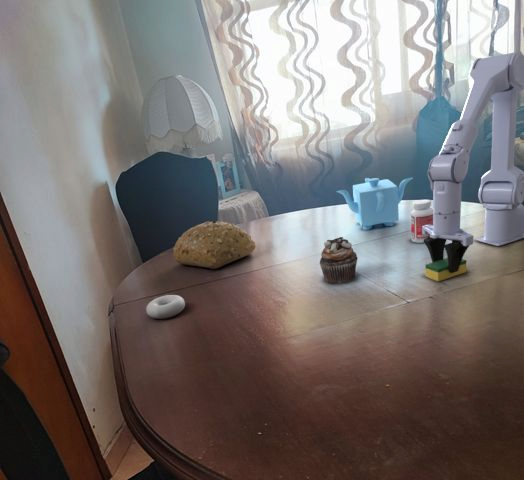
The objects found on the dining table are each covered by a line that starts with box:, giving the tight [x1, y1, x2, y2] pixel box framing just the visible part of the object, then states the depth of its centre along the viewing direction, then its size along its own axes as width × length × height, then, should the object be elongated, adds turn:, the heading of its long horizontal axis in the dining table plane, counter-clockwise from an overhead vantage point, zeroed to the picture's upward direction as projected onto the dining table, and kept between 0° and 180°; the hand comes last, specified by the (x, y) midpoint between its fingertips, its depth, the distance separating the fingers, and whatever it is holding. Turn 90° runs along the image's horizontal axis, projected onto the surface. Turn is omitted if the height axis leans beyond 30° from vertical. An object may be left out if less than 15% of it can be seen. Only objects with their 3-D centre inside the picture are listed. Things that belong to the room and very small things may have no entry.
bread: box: [172, 220, 256, 270], centre depth 150 cm, size 24×21×12 cm
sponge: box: [425, 257, 467, 282], centre depth 109 cm, size 8×4×3 cm, turn 111°
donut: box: [145, 294, 186, 320], centre depth 118 cm, size 10×3×10 cm
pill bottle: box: [410, 199, 433, 244], centre depth 132 cm, size 6×6×11 cm
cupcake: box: [319, 236, 358, 284], centre depth 118 cm, size 10×10×10 cm
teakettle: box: [335, 177, 414, 231], centre depth 154 cm, size 19×19×15 cm
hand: (445, 268), depth 110 cm, fingers open, 5 cm apart
